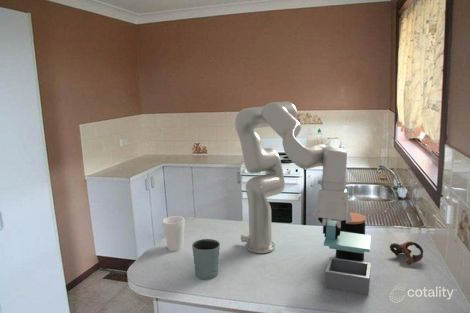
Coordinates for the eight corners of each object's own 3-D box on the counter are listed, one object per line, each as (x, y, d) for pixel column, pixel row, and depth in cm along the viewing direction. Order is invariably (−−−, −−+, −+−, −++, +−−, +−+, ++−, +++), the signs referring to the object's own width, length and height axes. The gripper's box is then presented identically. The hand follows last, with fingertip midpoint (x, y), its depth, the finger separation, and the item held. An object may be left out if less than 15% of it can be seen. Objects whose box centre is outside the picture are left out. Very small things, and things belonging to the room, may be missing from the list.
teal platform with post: (323, 249, 126) (324, 228, 125) (328, 236, 137) (329, 216, 135) (369, 256, 121) (370, 234, 119) (370, 242, 131) (371, 221, 130)
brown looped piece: (417, 255, 153) (425, 242, 148) (417, 274, 147) (425, 262, 141) (386, 245, 156) (393, 233, 150) (385, 264, 149) (392, 251, 144)
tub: (324, 290, 129) (325, 271, 127) (329, 275, 139) (329, 257, 137) (368, 297, 124) (369, 278, 122) (369, 281, 134) (370, 263, 132)
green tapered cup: (188, 273, 143) (187, 243, 141) (211, 264, 149) (209, 236, 147) (203, 284, 135) (201, 252, 133) (226, 274, 141) (225, 244, 139)
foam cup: (160, 251, 162) (158, 222, 160) (171, 242, 171) (169, 215, 168) (179, 254, 159) (177, 224, 156) (190, 245, 167) (188, 217, 165)
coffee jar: (365, 267, 144) (367, 222, 140) (336, 265, 146) (337, 221, 142) (362, 254, 154) (363, 212, 150) (335, 253, 156) (336, 211, 152)
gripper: (307, 185, 126) (305, 237, 130) (358, 190, 120) (355, 244, 124) (311, 180, 132) (309, 229, 136) (360, 184, 127) (356, 235, 131)
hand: (331, 235), depth 130 cm, fingers closed on teal platform with post, 3 cm apart
